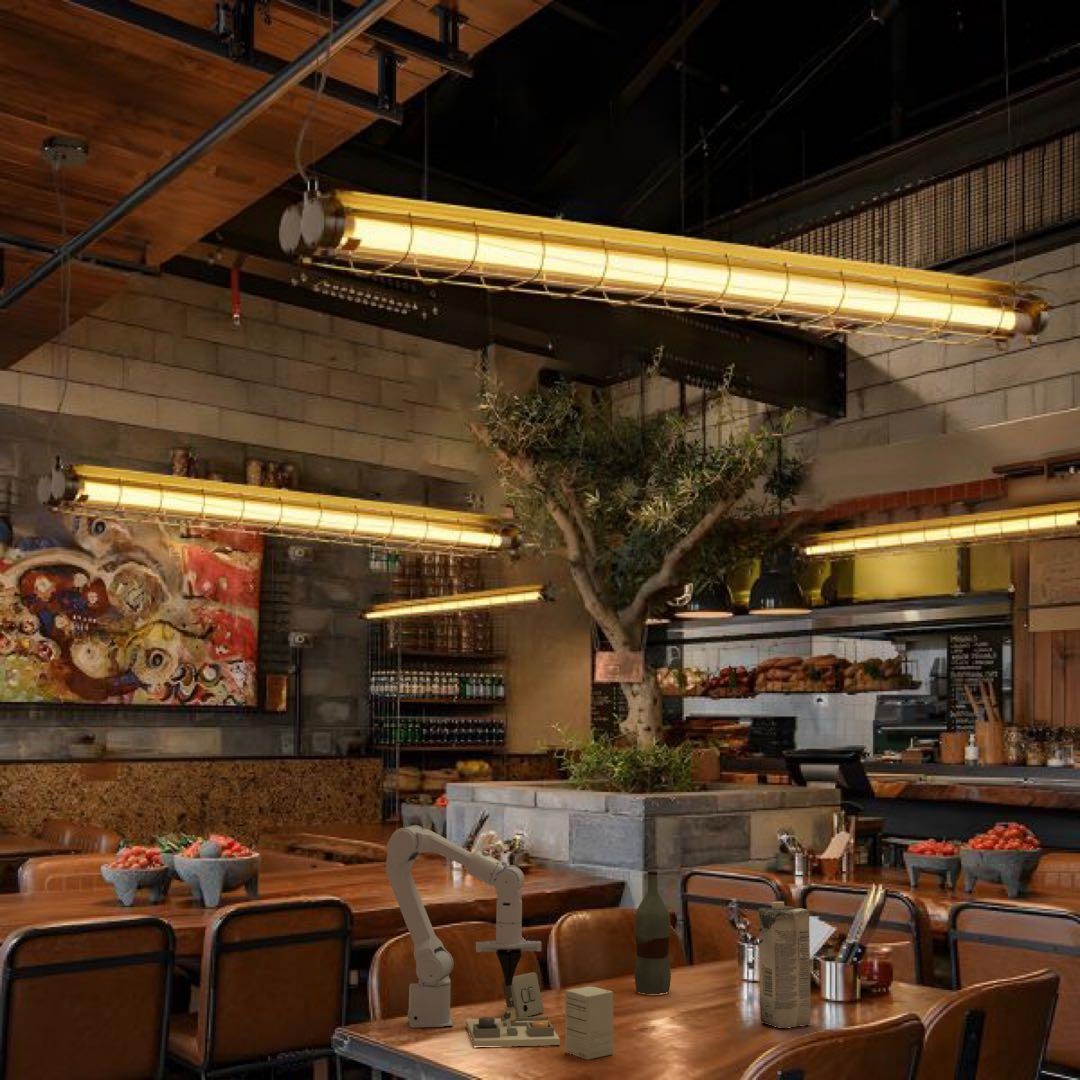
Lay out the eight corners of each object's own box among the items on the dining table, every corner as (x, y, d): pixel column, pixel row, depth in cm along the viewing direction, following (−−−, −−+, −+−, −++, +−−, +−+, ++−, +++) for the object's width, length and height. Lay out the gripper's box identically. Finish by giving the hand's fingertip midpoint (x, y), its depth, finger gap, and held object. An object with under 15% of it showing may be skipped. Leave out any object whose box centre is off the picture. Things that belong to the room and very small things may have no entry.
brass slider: (506, 1023, 295) (506, 1010, 295) (504, 1020, 298) (504, 1007, 298) (515, 1023, 295) (515, 1010, 296) (513, 1020, 298) (513, 1007, 299)
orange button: (533, 1032, 286) (533, 1024, 286) (531, 1028, 289) (531, 1020, 289) (549, 1031, 286) (549, 1024, 286) (546, 1028, 290) (546, 1020, 290)
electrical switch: (519, 1020, 307) (516, 977, 308) (501, 1019, 310) (499, 977, 312) (544, 1013, 314) (542, 972, 316) (527, 1012, 317) (525, 971, 319)
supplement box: (591, 1047, 282) (591, 985, 284) (614, 1054, 276) (614, 991, 278) (563, 1053, 277) (564, 989, 279) (587, 1060, 272) (587, 995, 273)
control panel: (474, 1048, 280) (474, 1032, 281) (466, 1026, 300) (466, 1011, 300) (559, 1046, 283) (559, 1030, 283) (545, 1024, 303) (545, 1009, 303)
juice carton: (816, 1026, 303) (814, 903, 307) (780, 1031, 298) (779, 906, 301) (790, 1018, 311) (788, 898, 314) (754, 1023, 305) (753, 901, 309)
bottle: (629, 989, 342) (629, 868, 346) (663, 988, 344) (663, 868, 348) (641, 997, 333) (641, 873, 337) (676, 995, 335) (675, 872, 339)
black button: (479, 1028, 284) (479, 1020, 284) (477, 1024, 288) (478, 1017, 288) (495, 1028, 285) (495, 1020, 285) (493, 1024, 288) (493, 1016, 288)
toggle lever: (507, 1034, 286) (503, 1013, 286) (506, 1032, 287) (502, 1011, 288) (514, 1032, 286) (510, 1011, 287) (513, 1030, 288) (509, 1009, 288)
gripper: (478, 925, 296) (477, 988, 295) (543, 924, 298) (543, 987, 297) (475, 920, 303) (474, 982, 302) (539, 919, 305) (538, 981, 304)
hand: (508, 984), depth 300 cm, fingers closed
